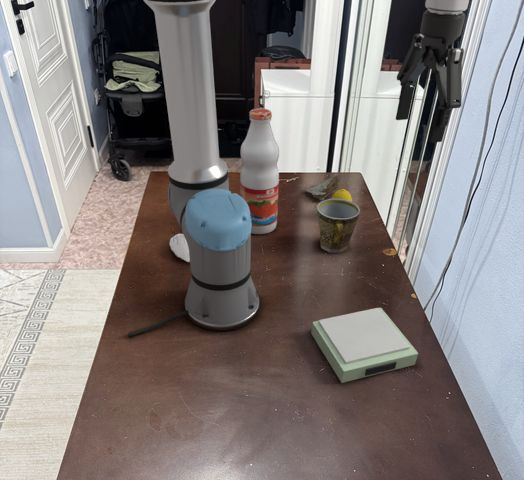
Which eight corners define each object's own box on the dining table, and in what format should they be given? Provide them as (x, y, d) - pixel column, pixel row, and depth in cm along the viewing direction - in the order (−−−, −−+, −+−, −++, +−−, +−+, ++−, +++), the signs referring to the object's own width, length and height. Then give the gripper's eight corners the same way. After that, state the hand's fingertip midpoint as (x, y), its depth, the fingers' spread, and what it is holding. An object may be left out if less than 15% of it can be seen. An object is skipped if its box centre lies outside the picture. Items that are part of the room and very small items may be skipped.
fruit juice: (265, 214, 132) (268, 102, 113) (283, 229, 126) (290, 114, 107) (234, 222, 129) (231, 108, 110) (251, 238, 123) (252, 121, 104)
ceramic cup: (312, 234, 125) (316, 197, 118) (351, 236, 125) (357, 199, 118) (314, 263, 115) (318, 225, 109) (357, 264, 115) (364, 226, 109)
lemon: (348, 223, 129) (353, 195, 124) (327, 221, 130) (331, 192, 125) (350, 213, 133) (354, 185, 128) (329, 211, 134) (333, 183, 129)
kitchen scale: (342, 384, 88) (345, 370, 85) (310, 333, 97) (312, 319, 95) (415, 366, 91) (420, 352, 89) (378, 318, 101) (381, 305, 99)
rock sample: (310, 170, 143) (327, 159, 136) (329, 188, 146) (347, 178, 138) (294, 197, 141) (311, 187, 133) (313, 215, 143) (331, 206, 136)
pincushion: (202, 261, 115) (200, 240, 111) (176, 266, 113) (173, 244, 110) (190, 236, 123) (188, 215, 119) (166, 240, 122) (163, 219, 118)
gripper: (506, 23, 83) (467, 150, 97) (426, -2, 100) (403, 109, 115) (468, 25, 81) (434, 154, 96) (393, -1, 98) (374, 112, 113)
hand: (417, 130), depth 105 cm, fingers open, 13 cm apart
